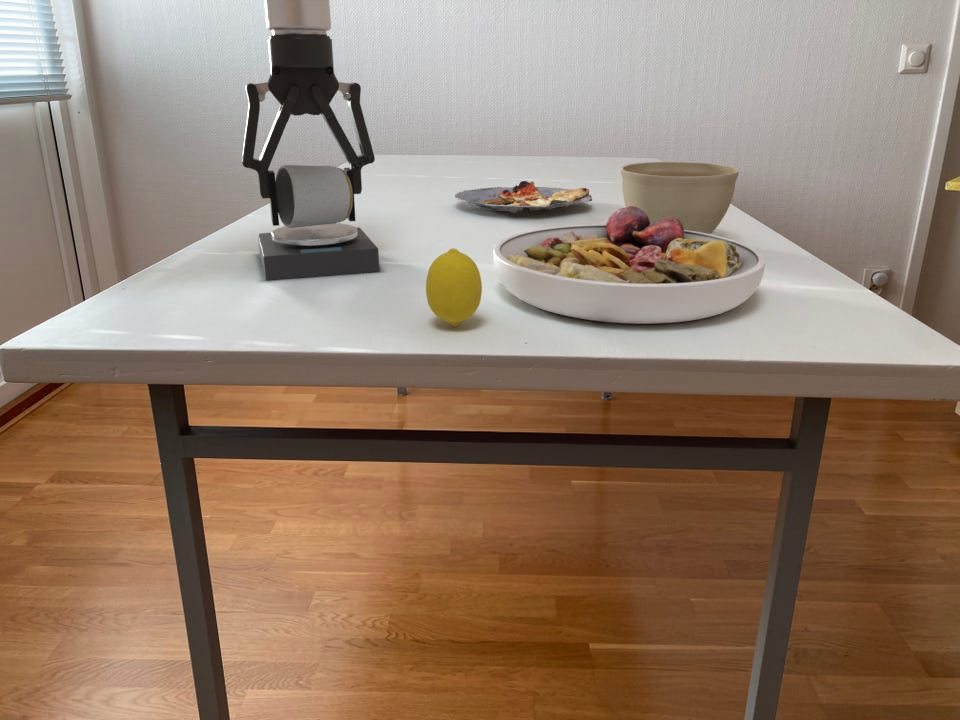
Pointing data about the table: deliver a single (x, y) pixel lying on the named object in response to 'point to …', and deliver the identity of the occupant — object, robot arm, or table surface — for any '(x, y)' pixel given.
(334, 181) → the ceramic mug
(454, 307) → the lemon
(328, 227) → the scale pan
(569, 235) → the bowl
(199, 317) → the table surface
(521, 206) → the food plate
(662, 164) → the planter bowl
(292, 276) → the scale
